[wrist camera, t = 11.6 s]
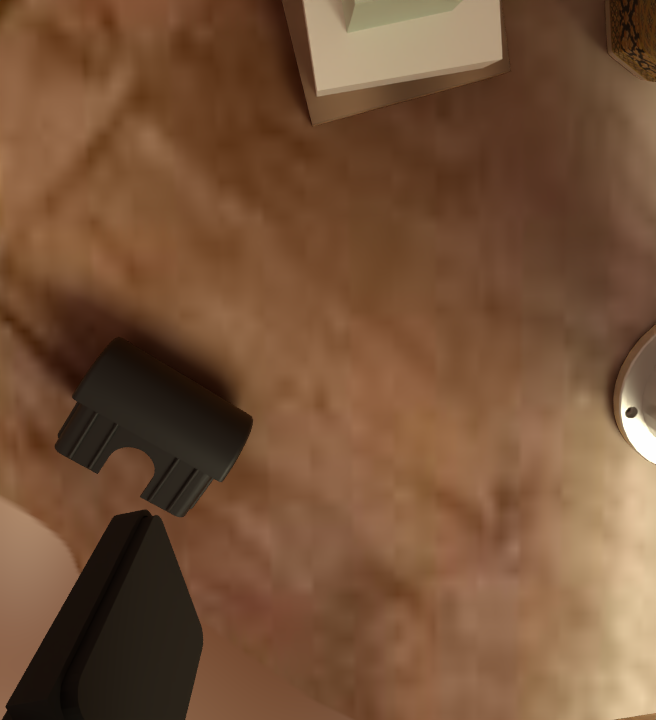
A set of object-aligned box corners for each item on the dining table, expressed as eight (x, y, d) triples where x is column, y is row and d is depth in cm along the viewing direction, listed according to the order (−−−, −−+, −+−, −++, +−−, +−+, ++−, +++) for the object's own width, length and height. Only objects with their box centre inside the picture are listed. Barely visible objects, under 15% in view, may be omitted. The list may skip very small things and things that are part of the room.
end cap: (259, 399, 41) (249, 445, 35) (206, 473, 43) (188, 530, 36) (131, 321, 39) (95, 355, 32) (81, 402, 41) (38, 450, 34)
